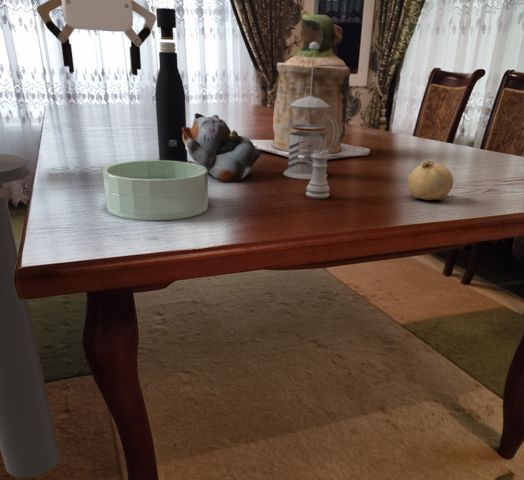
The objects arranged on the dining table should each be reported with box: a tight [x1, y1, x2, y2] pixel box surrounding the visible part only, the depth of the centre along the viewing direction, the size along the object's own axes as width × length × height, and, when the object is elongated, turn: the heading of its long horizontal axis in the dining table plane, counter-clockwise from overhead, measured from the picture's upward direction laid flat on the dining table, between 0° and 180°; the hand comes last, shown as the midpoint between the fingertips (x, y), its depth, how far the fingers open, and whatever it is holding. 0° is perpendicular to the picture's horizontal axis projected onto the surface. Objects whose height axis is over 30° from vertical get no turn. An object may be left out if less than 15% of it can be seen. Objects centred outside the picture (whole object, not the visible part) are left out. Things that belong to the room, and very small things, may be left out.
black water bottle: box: [154, 7, 189, 162], centre depth 114 cm, size 6×6×30 cm
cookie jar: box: [249, 10, 371, 161], centre depth 132 cm, size 25×25×32 cm
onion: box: [407, 159, 454, 201], centre depth 96 cm, size 8×8×7 cm
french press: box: [282, 42, 339, 180], centre depth 108 cm, size 10×12×25 cm
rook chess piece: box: [305, 150, 330, 200], centre depth 95 cm, size 4×4×8 cm
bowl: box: [102, 159, 209, 221], centre depth 86 cm, size 16×16×6 cm
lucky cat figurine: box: [182, 112, 262, 183], centre depth 108 cm, size 15×12×14 cm
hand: (103, 73), depth 84 cm, fingers open, 9 cm apart
